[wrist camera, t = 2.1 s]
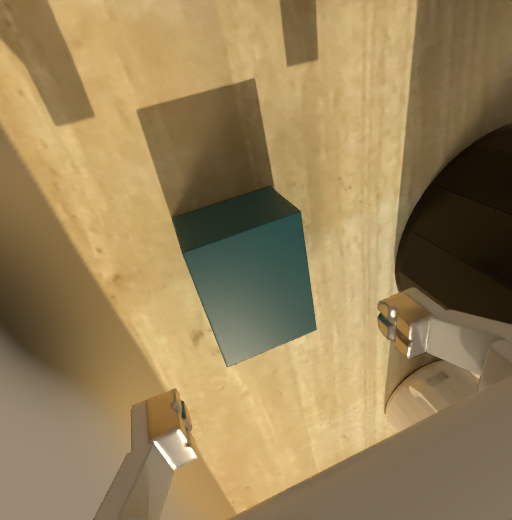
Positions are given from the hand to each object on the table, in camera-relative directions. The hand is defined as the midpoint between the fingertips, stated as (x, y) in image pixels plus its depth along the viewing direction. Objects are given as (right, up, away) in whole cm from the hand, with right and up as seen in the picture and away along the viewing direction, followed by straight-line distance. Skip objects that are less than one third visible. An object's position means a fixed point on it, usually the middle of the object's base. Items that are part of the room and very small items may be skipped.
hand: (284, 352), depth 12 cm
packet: (-2, +3, +5) cm, 7 cm away
